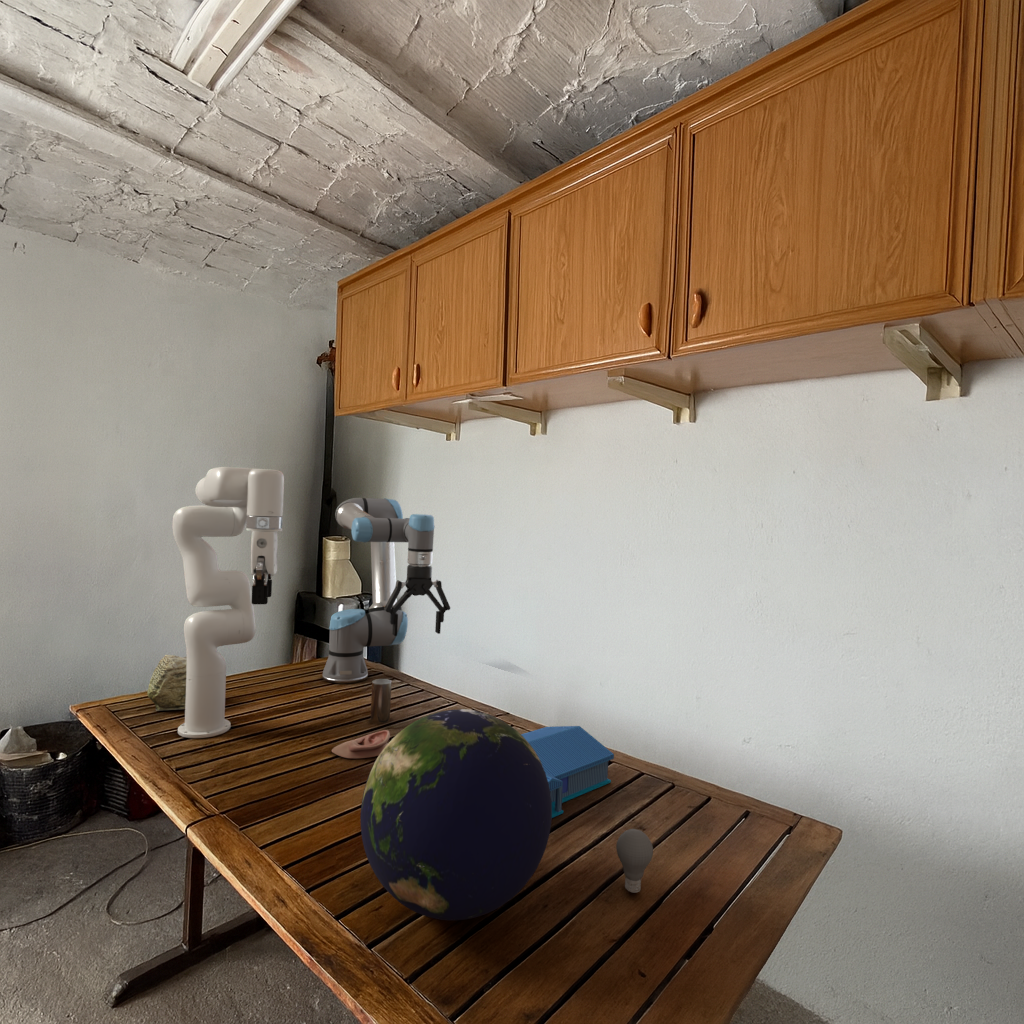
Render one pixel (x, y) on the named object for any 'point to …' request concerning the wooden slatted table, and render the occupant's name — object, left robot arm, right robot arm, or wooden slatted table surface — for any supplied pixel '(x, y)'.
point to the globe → (456, 814)
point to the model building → (570, 762)
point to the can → (380, 701)
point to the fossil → (169, 683)
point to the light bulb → (634, 857)
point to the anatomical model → (363, 746)
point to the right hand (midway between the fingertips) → (416, 633)
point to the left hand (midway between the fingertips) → (261, 600)
